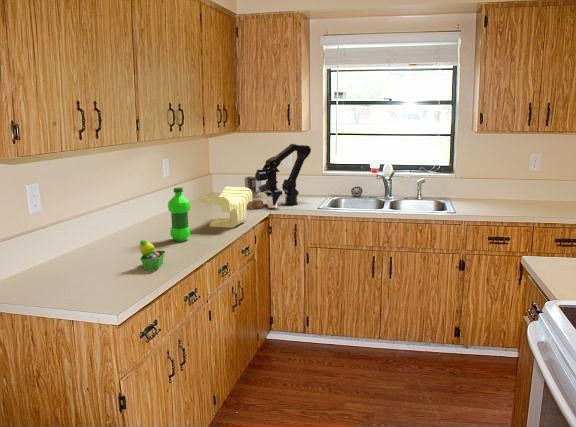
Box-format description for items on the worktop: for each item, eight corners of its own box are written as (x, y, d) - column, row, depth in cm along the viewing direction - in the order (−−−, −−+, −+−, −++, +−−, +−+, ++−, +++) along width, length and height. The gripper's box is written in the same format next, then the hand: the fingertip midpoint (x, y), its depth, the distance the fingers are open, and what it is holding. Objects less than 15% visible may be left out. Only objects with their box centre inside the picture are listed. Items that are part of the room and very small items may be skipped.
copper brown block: (257, 204, 337) (257, 198, 337) (263, 207, 328) (263, 201, 328) (242, 206, 333) (242, 200, 333) (248, 209, 324) (247, 202, 324)
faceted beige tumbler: (277, 205, 334) (277, 194, 333) (277, 207, 328) (277, 196, 326) (266, 205, 334) (266, 194, 333) (266, 208, 327) (266, 196, 326)
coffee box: (261, 201, 350) (261, 176, 347) (256, 202, 345) (255, 178, 341) (250, 200, 355) (250, 176, 351) (244, 201, 349) (244, 177, 346)
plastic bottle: (195, 238, 257) (193, 187, 252) (183, 243, 247) (181, 190, 242) (177, 236, 260) (175, 185, 255) (165, 241, 251) (162, 189, 246)
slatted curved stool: (230, 231, 269) (229, 197, 265) (202, 229, 273) (200, 195, 270) (252, 219, 296) (252, 187, 293) (226, 217, 301) (225, 186, 298)
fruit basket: (160, 271, 207) (158, 243, 205) (137, 271, 207) (135, 243, 205) (166, 262, 218) (164, 235, 216) (144, 262, 218) (142, 236, 216)
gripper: (254, 178, 332) (254, 203, 336) (265, 182, 316) (265, 208, 319) (270, 177, 337) (271, 201, 340) (282, 181, 320) (282, 206, 323)
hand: (272, 204), depth 330 cm, fingers closed on faceted beige tumbler, 6 cm apart
